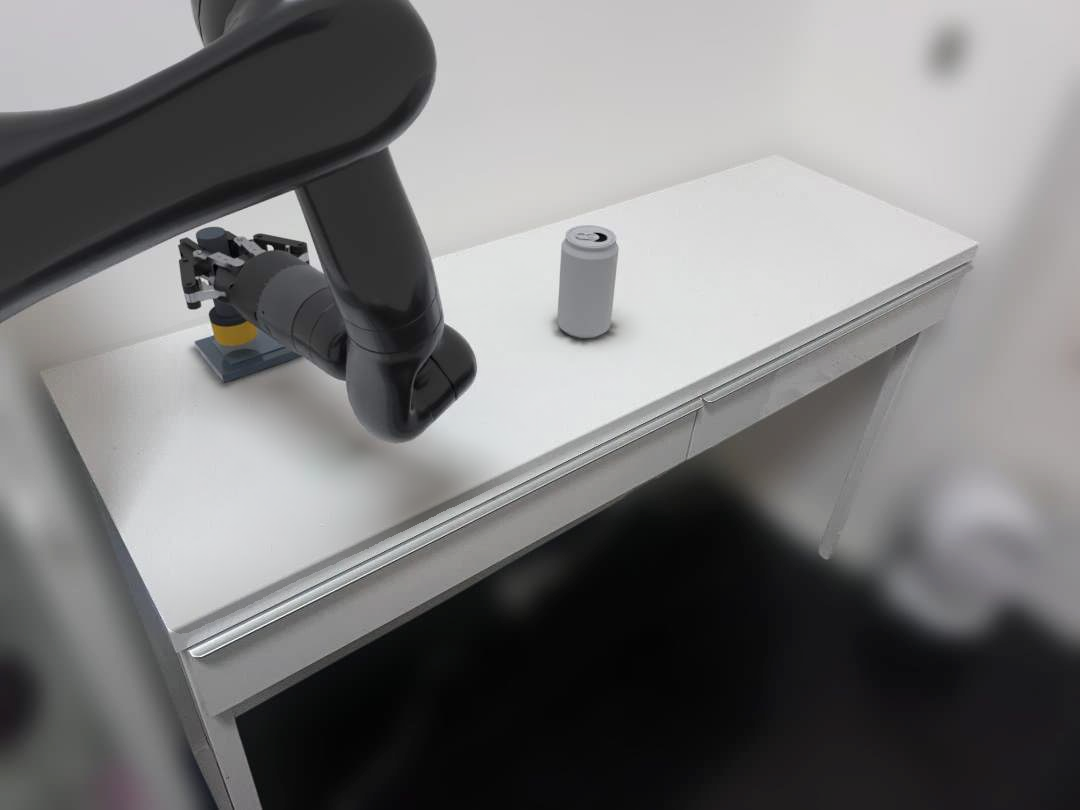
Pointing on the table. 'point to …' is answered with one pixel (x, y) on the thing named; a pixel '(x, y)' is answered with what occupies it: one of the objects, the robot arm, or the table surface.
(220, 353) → the plate
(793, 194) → the table surface
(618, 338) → the table surface
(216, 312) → the sponge wand
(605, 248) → the beverage can
